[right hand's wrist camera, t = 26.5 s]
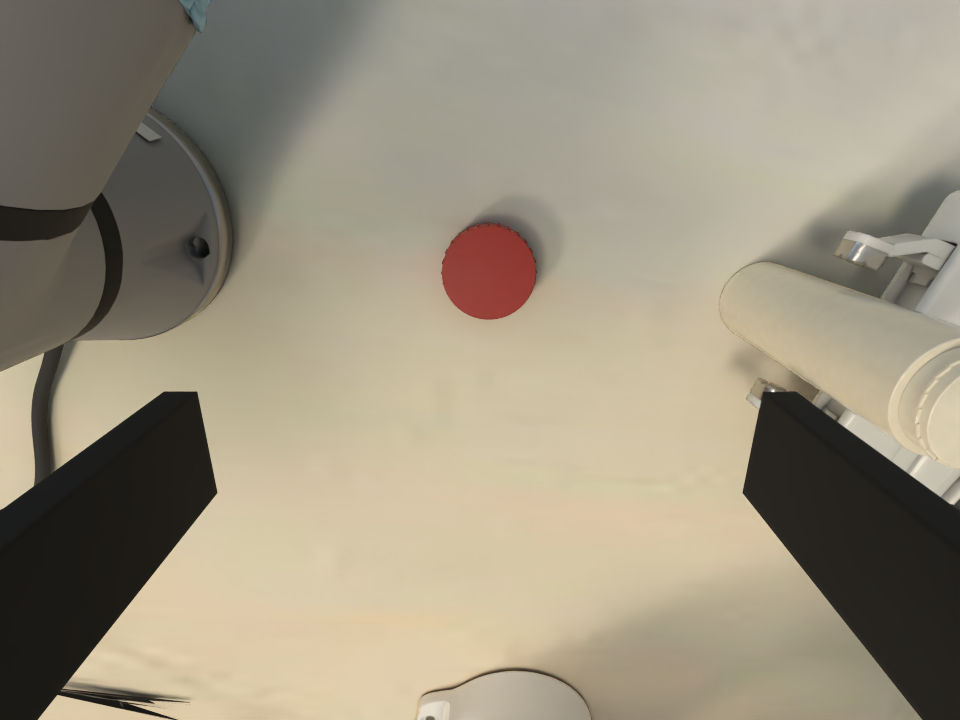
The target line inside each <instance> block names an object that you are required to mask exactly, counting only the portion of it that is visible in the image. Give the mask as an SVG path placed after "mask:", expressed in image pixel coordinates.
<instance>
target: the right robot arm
mask: <svg viewBox="0 0 960 720" xmlns="http://www.w3.org/2000/svg"><path fill="white" fill-rule="evenodd" d="M210 1H211V0H0V372H1V371H3V370H5V369H8V368H10V367H12V366H14V365H17V364H19V363H21V362H24V361H26V360H28V359H30V358H33V357H35V356H37V355H40V354H42V353H44V352H45V353H44V357H43V361H42V365H41V368H40V371H39V374H38V378H37V381H36V384H35V388H34V393H33V400H32V415H31V420H32V436H33V446H34V456H35V482H34V487H32V488H31V489H30V490H28V491H27V492H26V493H24V494H23V495H22V496H20V497H19V498H17V499H16V500H15V501H13V502H12V503H11V504H9V505H8V506H6V507H5V508H3V509H1V510H0V720H38V718H39V717H40V716H41V715H42V713H43V712H44V711H45V710H46V708H47V707H48V706H49V705H50V703H51V702H52V701H53V700H54V698H55V697H56V696H57V694H58V693H59V692H60V691H61V689H62V688H63V687H64V686H65V684H66V683H67V682H68V681H69V679H70V678H71V677H72V676H73V674H74V673H75V672H76V671H77V669H78V668H79V667H80V665H81V664H82V663H83V662H84V660H85V659H86V658H87V657H88V655H89V654H90V653H91V652H92V650H93V649H94V648H95V647H96V645H97V644H98V643H99V642H100V640H101V639H102V638H103V636H104V635H105V634H106V633H107V631H108V630H109V629H110V628H111V626H112V625H113V624H114V623H115V621H116V620H117V619H118V618H119V616H120V615H121V614H122V613H123V611H124V610H125V609H126V607H127V606H128V605H129V604H130V602H131V601H132V600H133V599H134V597H135V596H136V595H137V594H138V592H139V591H140V590H141V589H142V587H143V586H144V585H145V584H146V582H147V581H148V580H149V578H150V577H151V576H152V575H153V573H154V572H155V571H156V570H157V568H158V567H159V566H160V565H161V563H162V562H163V561H164V560H165V558H166V557H167V556H168V554H169V553H170V552H171V551H172V549H173V548H174V547H175V546H176V544H177V543H178V542H179V541H180V539H181V538H182V537H183V536H184V534H185V533H186V532H187V531H188V529H189V528H190V527H191V525H192V524H193V523H194V522H195V520H196V519H197V518H198V517H199V515H200V514H201V513H202V512H203V510H204V509H205V508H206V507H207V505H208V504H209V503H210V502H211V500H212V499H213V498H214V496H215V495H216V494H217V488H216V483H215V478H214V473H213V468H212V463H211V458H210V453H209V448H208V443H207V438H206V433H205V428H204V423H203V418H202V413H201V408H200V403H199V398H198V393H197V392H163V393H162V394H160V395H159V396H157V397H156V398H155V399H153V400H152V401H151V402H149V403H148V404H146V405H145V406H144V407H142V408H141V409H140V410H138V411H137V412H135V413H134V414H133V415H131V416H130V417H129V418H127V419H126V420H125V421H123V422H122V423H120V424H119V425H118V426H116V427H115V428H114V429H112V430H111V431H109V432H108V433H107V434H105V435H104V436H103V437H101V438H100V439H98V440H97V441H96V442H94V443H93V444H92V445H90V446H89V447H87V448H86V449H85V450H83V451H82V452H81V453H79V454H78V455H76V456H75V457H74V458H72V459H71V460H70V461H68V462H67V463H65V464H64V465H63V466H61V467H60V468H59V469H57V470H56V471H54V472H53V473H52V474H50V451H49V440H48V427H47V410H48V400H49V394H50V390H51V386H52V383H53V380H54V377H55V374H56V371H57V367H58V364H59V360H60V357H61V353H62V350H63V346H64V343H67V342H69V341H71V340H135V339H143V338H148V337H152V336H156V335H159V334H161V333H164V332H166V331H168V330H171V329H173V328H175V327H177V326H178V325H180V324H182V323H184V322H186V321H188V320H189V319H191V318H193V317H194V316H196V315H197V314H198V313H200V312H201V311H202V310H203V309H204V308H205V307H206V306H207V305H208V304H209V303H210V302H211V301H212V300H213V298H214V297H215V296H216V294H217V293H218V291H219V289H220V288H221V286H222V284H223V282H224V280H225V278H226V275H227V272H228V269H229V265H230V261H231V255H232V246H233V232H232V222H231V216H230V211H229V207H228V203H227V200H226V197H225V194H224V192H223V189H222V186H221V184H220V182H219V180H218V178H217V176H216V174H215V172H214V171H213V169H212V167H211V165H210V164H209V162H208V161H207V159H206V158H205V156H204V155H203V154H202V152H201V151H200V150H199V149H198V147H197V146H196V145H195V144H194V143H193V141H192V140H191V139H190V138H189V137H188V136H187V135H186V134H185V133H184V132H183V131H182V130H181V129H179V128H178V127H177V126H176V125H175V124H174V123H172V122H171V121H170V120H168V119H167V118H166V117H164V116H163V115H162V114H160V113H158V112H157V111H155V110H153V109H152V108H150V107H151V105H152V104H153V102H154V100H155V99H156V97H157V95H158V94H159V92H160V90H161V89H162V87H163V85H164V84H165V82H166V80H167V79H168V77H169V75H170V74H171V72H172V70H173V69H174V67H175V65H176V64H177V62H178V60H179V59H180V57H181V55H182V54H183V52H184V50H185V49H186V47H187V45H188V44H189V42H190V40H191V39H192V37H193V35H194V34H195V32H196V30H197V31H198V32H200V33H201V32H202V31H203V29H204V28H205V25H206V22H207V19H206V13H205V12H206V10H207V8H208V6H209V3H210ZM743 494H744V495H745V496H746V498H747V499H748V500H749V502H750V503H751V504H752V505H753V507H754V508H755V509H756V510H757V512H758V513H759V514H760V515H761V517H762V518H763V519H764V520H765V522H766V523H767V524H768V525H769V527H770V528H771V529H772V531H773V532H774V533H775V534H776V536H777V537H778V538H779V539H780V541H781V542H782V543H783V544H784V546H785V547H786V548H787V549H788V551H789V552H790V553H791V554H792V556H793V557H794V558H795V560H796V561H797V562H798V563H799V565H800V566H801V567H802V568H803V570H804V571H805V572H806V573H807V575H808V576H809V577H810V578H811V580H812V581H813V582H814V584H815V585H816V586H817V587H818V589H819V590H820V591H821V592H822V594H823V595H824V596H825V597H826V599H827V600H828V601H829V602H830V604H831V605H832V606H833V607H834V609H835V610H836V611H837V613H838V614H839V615H840V616H841V618H842V619H843V620H844V621H845V623H846V624H847V625H848V626H849V628H850V629H851V630H852V631H853V633H854V634H855V635H856V636H857V638H858V639H859V640H860V642H861V643H862V644H863V645H864V647H865V648H866V649H867V650H868V652H869V653H870V654H871V655H872V657H873V658H874V659H875V660H876V662H877V663H878V664H879V665H880V667H881V668H882V669H883V671H884V672H885V673H886V674H887V676H888V677H889V678H890V679H891V681H892V682H893V683H894V684H895V686H896V687H897V688H898V689H899V691H900V692H901V693H902V694H903V696H904V697H905V698H906V700H907V701H908V702H909V703H910V705H911V706H912V707H913V708H914V710H915V711H916V712H917V713H918V715H919V716H920V717H921V718H922V720H960V508H959V507H957V506H955V505H953V504H949V503H948V502H947V501H945V500H944V499H943V498H941V497H940V496H938V495H937V494H936V493H934V492H933V491H932V490H930V489H929V488H928V487H926V486H925V485H923V484H922V483H921V482H919V481H918V480H917V479H915V478H914V477H912V476H911V475H910V474H908V473H907V472H906V471H904V470H903V469H901V468H900V467H899V466H897V465H896V464H895V463H893V462H892V461H890V460H889V459H888V458H886V457H885V456H884V455H882V454H881V453H879V452H878V451H877V450H875V449H874V448H873V447H871V446H870V445H868V444H867V443H866V442H864V441H863V440H862V439H860V438H859V437H857V436H856V435H855V434H853V433H852V432H851V431H849V430H848V429H846V428H845V427H844V426H842V425H841V424H840V423H838V422H837V421H835V420H834V419H833V418H831V417H830V416H829V415H827V414H826V413H825V412H823V411H822V410H820V409H819V408H818V407H816V406H815V405H814V404H812V403H811V402H809V401H808V400H807V399H805V398H804V397H803V396H801V395H800V394H798V393H797V392H763V393H762V398H761V403H760V408H759V413H758V418H757V423H756V428H755V433H754V438H753V443H752V448H751V453H750V458H749V463H748V468H747V473H746V478H745V483H744V488H743Z"/></svg>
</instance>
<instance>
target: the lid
mask: <svg viewBox="0 0 960 720" xmlns="http://www.w3.org/2000/svg"><path fill="white" fill-rule="evenodd" d="M445 254H446V256H445V258H444V259H443V262H442V264H443V268H442V272H441V274H442V279H443V285H444V288H445V290H446V293H447V295H448V296H449V298H450V300H451V301H452V302H453V303H454V305H455V306H457V307H458V308H459V309H460V310H461V311H463V312H464V313H466V314H468V315H470V316H472V317H475V318H479V319H498V318H502V317H505V316H508V315H510V314H512V313H514V312H515V311H516V310H518V309H519V308H520V307H521V306H522V305H523V304H524V303H525V302H526V301H527V299H528V298H529V296H530V295H531V293H532V290H533V287H534V284H535V279H536V273H537V271H536V266H535V263H536V261H535V259H534V258H533V255H532V250H531V248H530V249H529V247H528V245H527V242H526V240H523V238H522V237H521V236H520V235H519V233H518V232H517V233H516V232H515V231H513V230H511V229H510V227H509V226H508V227H505V226H503V225H500V223H498V224H492V223H489V222H488V223H486V224H479V223H478V224H477V225H476V226H473V227H470V228H469V227H467V229H466V230H465V231H463V232H462V233H461V234H460V233H459V234H458V236H457V237H456V238H455V239H454V241H453V240H452V241H451V245H450V247H449V249H447V250H446V252H445Z"/></svg>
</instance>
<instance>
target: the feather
mask: <svg viewBox="0 0 960 720" xmlns="http://www.w3.org/2000/svg"><path fill="white" fill-rule="evenodd" d="M57 695H60V696H65V697H70V698H74V699H79V700H83V701H88V702H92V703H97V704H102V705H106V706H111V707H115V708H120V709H121V708H122V709H125V710H129V711H130V710H131V711H134V712H135V711H136V712H138V713H139V712H140V713H143V714H144V713H145V714H147V715H148V714H149V715H152V716H153V715H154V716H156V717H157V716H159V717H161V718H162V717H163V718H168V719H170V720H171V719H173V720H177V719H174V718H170V717H167V716H164V715H161V714H158V713H155V712H152V711H149V710H146V709H143V708H140V707H136V706H133V705H130V704H135V703H128V702H122V701H128V700H129V701H137V702H145V703H153V702H151V701H169V703H170V702H183V701H173V700H164V699H154V698H145V697H136V696H126V695H117V694H107V693H97V692H88V691H78V690H69V689H61V691H60V692H59V693H58V694H57ZM118 700H121V701H118ZM149 700H151V701H149ZM188 703H190V702H188ZM153 704H155V703H153ZM135 705H141V704H135ZM186 705H187V704H186ZM144 706H147V705H144ZM170 706H171V705H170ZM152 707H153V706H152ZM158 708H160V707H158ZM165 709H166V708H165Z"/></svg>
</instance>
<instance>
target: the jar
mask: <svg viewBox="0 0 960 720" xmlns="http://www.w3.org/2000/svg"><path fill="white" fill-rule="evenodd" d="M720 315H721V318H722V320H723V322H724V324H725V325H726V327H727V328H728V329H729V330H730V331H732V332H733V333H735V334H736V335H738V336H739V337H740V338H742V339H743V340H745V341H746V342H748V343H749V344H751V345H752V346H754V347H755V348H757V349H758V350H760V351H761V352H763V353H764V354H766V355H767V356H769V357H770V358H772V359H773V360H775V361H776V362H778V363H779V364H781V365H782V366H784V367H785V368H787V369H788V370H790V371H791V372H793V373H794V374H796V375H797V376H799V377H800V378H801V379H803V380H804V381H806V382H807V383H809V384H810V385H812V386H813V387H815V388H816V389H818V390H819V391H821V392H822V393H824V394H825V395H827V396H828V397H830V398H831V399H833V400H834V401H836V402H837V403H839V404H840V405H842V406H843V407H845V408H846V409H848V410H849V411H851V412H852V413H854V414H855V415H857V416H858V417H860V418H861V419H863V420H864V421H865V422H867V423H868V424H870V425H871V426H873V427H874V428H876V429H877V430H879V431H880V432H882V433H883V434H885V435H886V436H888V437H889V438H891V439H892V440H894V441H895V442H897V443H898V444H900V445H901V446H903V447H904V448H906V449H907V450H909V451H911V452H913V453H916V454H919V455H923V456H928V457H931V458H932V459H933V460H935V461H936V462H939V463H941V464H943V465H945V466H948V467H949V468H956V469H960V325H958V324H955V323H952V322H949V321H946V320H943V319H940V318H937V317H934V316H931V315H928V314H925V313H922V312H919V311H916V310H913V309H910V308H907V307H904V306H901V305H898V304H895V303H892V302H889V301H886V300H883V299H880V298H877V297H874V296H871V295H869V294H866V293H863V292H860V291H857V290H854V289H851V288H848V287H845V286H842V285H839V284H836V283H833V282H830V281H827V280H824V279H821V278H818V277H815V276H812V275H809V274H806V273H803V272H800V271H797V270H794V269H791V268H788V267H785V266H782V265H779V264H776V263H772V262H760V263H755V264H752V265H749V266H747V267H745V268H743V269H741V270H740V271H739V272H737V273H736V274H735V275H734V276H733V277H732V278H731V279H730V280H729V281H728V283H727V284H726V286H725V288H724V289H723V292H722V294H721V298H720Z"/></svg>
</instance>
